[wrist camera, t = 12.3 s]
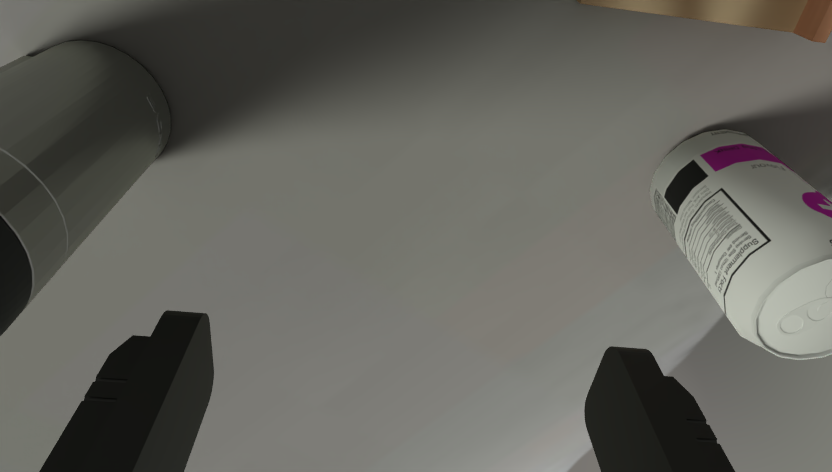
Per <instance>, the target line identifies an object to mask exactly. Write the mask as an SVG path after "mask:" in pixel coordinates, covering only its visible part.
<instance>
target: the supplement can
mask: <svg viewBox="0 0 832 472" xmlns="http://www.w3.org/2000/svg"><path fill="white" fill-rule="evenodd" d="M650 196H651V203H652V207H653V209H654V210H655V212H656V213H657V215H658V216H659V218H660V219H661V221H662V222H663V224H664V225H665V226H666V228H667V229H668V231H669V232H670V234H671V235H672V237H673V238H674V240H675V241H676V243H677V244H678V246H679V247H680V248H681V250H682V251H683V253H684V254H685V256H686V257H687V259H688V260H689V262H690V263H691V265H692V266H693V267H694V269H695V270H696V272H697V273H698V275H699V276H700V278H701V279H702V281H703V282H704V284H705V285H706V287H707V288H708V289H709V291H710V292H711V294H712V295H713V297H714V298H715V300H716V301H717V303H718V304H719V306H720V307H721V309H722V310H723V311H724V313H725V314H726V316H727V317H728V319H729V320H730V321H731V323H732V325H733V326H734V327H735V329H736V330H737V332H738V333H739V335H740V336H741V337H743V338H745V339H747V340H749V341H751V342H753V343H754V344H756V345H758V346H761V347H763V348H764V349H765V350H767V351H769V352H771V353H773V354H774V355H776V356H778V357H783V358H790V359H796V360H803V359H812V358H821V357H825V356H828V355H831V354H832V202H830V201H829V200H828V199H827V198H826V197H824V196H823V195H822V194H821V193H819V192H818V191H817V190H816V189H815V188H813V187H812V186H811V185H810V184H809V183H807V182H806V181H805V180H804V179H802V178H801V177H800V176H799V175H798V174H796V173H795V172H794V171H793V170H791V169H790V168H789V167H788V166H787V165H785V164H784V163H783V162H782V161H781V160H779V159H778V158H777V157H776V156H774V155H773V154H772V153H771V152H770V151H768V150H767V149H766V148H765V147H763V146H762V145H761V144H760V143H759V142H757V141H756V140H754V139H753V138H751V137H750V136H748V135H747V134H745V133H742V132H737V131H732V130H726V129H724V130H717V131H710V132H703V133H701V134H699V135H697V136H695V137H693V138H690V139H688V140H686V141H684V142H682V143H681V144H680V145H679V146H677V147H676V148H675V149H674V150H673V151H671V152H670V153H669V154H668V155H667V156H666V157H665V158H664V160H663V161H662V163H661V164H660V165H659V167H658V168H657V170H656V171H655V173H654V176H653V180H652V184H651V188H650Z"/></svg>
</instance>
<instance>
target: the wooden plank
mask: <svg viewBox="0 0 832 472" xmlns="http://www.w3.org/2000/svg"><path fill="white" fill-rule="evenodd" d="M577 1H578V2H579V3H580V4H587V5H594V6H602V7H609V8H616V9H624V10H631V11H639V12H646V13H653V14H661V15H668V16H675V17H683V18H690V19H697V20H705V21H712V22H719V23H727V24H734V25H742V26H749V27H756V28H764V29H771V30H778V31H786V32H793V33H795V34H797V35H800V36H802V37H804V38H806V39H808V40H811V41H815V42H822V43H825V42H826V40H827V38H828V36H829V34H830V32H831V30H832V0H577Z"/></svg>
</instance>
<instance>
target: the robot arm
mask: <svg viewBox="0 0 832 472" xmlns="http://www.w3.org/2000/svg"><path fill="white" fill-rule="evenodd" d="M170 131H171V117H170V112H169V108H168V104H167V101H166V99H165V97H164V95H163V92H162V90H161V89H160V87H159V86H158V84H157V83H156V81H155V80H154V78H153V77H152V76H151V75H150V74H149V73H148V72H147V71H146V70H145V69H144V68H143V67H142V65H140V64H139V63H138V62H136V61H135V60H134V59H132V58H131V57H130V56H128V55H127V54H125V53H123V52H121V51H119V50H117V49H115V48H113V47H111V46H108V45H104V44H101V43H98V42H92V41H83V40H79V41H69V42H64V43H62V44H59V45H56V46H53V47H52V48H50V49H48V50H46V51H44V52H42V53H40V54H38V55H36V56H34V57H31V56H23V57H21V58H19V59H17V60H15V61H12V62H10V63H8V64H6V65H4V66H2V67H0V336H1V335H2V334H3V333H4V332H5V331H6V330H7V328H8V327H9V326H10V325H11V324H12V323H13V321H14V320H15V319H16V318H17V317H18V316H19V314H20V313H21V312H22V311H23V310H24V309H25V308H26V307H27V305H28V304H29V303H30V302H31V301H32V300H33V299H34V297H35V296H36V295H37V294H38V293H39V292H40V291H41V289H42V288H43V287H44V286H45V285H46V284H47V283H48V281H49V280H50V279H51V278H52V277H53V276H54V274H55V273H56V272H57V271H58V270H59V269H60V267H61V266H62V265H63V264H64V263H65V262H66V261H67V259H68V258H69V257H70V256H71V255H72V254H73V253H74V251H75V250H76V249H77V248H78V247H79V246H80V245H81V243H82V242H83V241H84V240H85V239H86V238H87V237H88V235H89V234H90V233H91V232H92V231H93V230H94V229H95V227H96V226H97V225H98V224H99V223H100V222H101V221H102V219H103V218H104V217H105V216H106V215H107V214H108V213H109V211H110V210H111V209H112V208H113V207H114V206H115V205H116V203H117V202H118V201H119V200H120V199H121V198H122V197H123V195H124V194H125V193H126V192H127V191H128V190H129V189H130V187H131V186H132V185H133V184H134V183H135V182H136V181H137V180H138V178H139V177H140V176H141V175H142V174H143V173H144V172H145V171H146V169H147V168H148V167H149V166H150V165H151V164H152V163H153V161H154V160H155V159H156V158H157V157H158V156H159V155H160V153H161V152H162V151H163V149H164V147H165V145H166V144H167V142H168V138H169V134H170ZM213 378H214V367H213V356H212V345H211V333H210V322H209V317H208V315H207V314H206V313H193V312H181V311H165V312H164V313H163V315H162V316H161V318H160V320H159V322H158V324H157V325H156V327H155V329H154V331H153V333H152V335H151V337H147V336H134V335H133V336H132V337H130V338H129V339H128V340H127V341H126V342H124V343H123V344H122V345H121V346H119V347H118V348H117V349H116V350H114V351H113V352H112V353H111V354H110V355H109V356H108V358H107V360H106V361H105V363H104V365H103V366H102V368H101V370H100V371H99V373H98V375H97V376H96V381H95V382H93V383H92V385H91V386H90V388H89V390H88V391H87V393H86V395H85V399H84V401H81V403H80V405H79V406H78V408H77V410H76V411H75V413H74V415H73V416H72V418H71V420H70V421H69V423H68V425H67V426H66V428H65V430H64V431H63V433H62V435H61V436H60V438H59V440H58V441H57V443H56V445H55V446H54V448H53V450H52V451H51V453H50V455H49V456H48V458H47V460H46V461H45V463H44V465H43V466H42V468H41V470H40V471H39V472H184V470H185V467H186V464H187V461H188V459H189V456H190V453H191V450H192V447H193V445H194V442H195V439H196V436H197V434H198V431H199V428H200V425H201V422H202V420H203V417H204V414H205V411H206V409H207V406H208V403H209V400H210V396H211V392H212V386H213ZM585 422H586V427H587V430H588V433H589V436H590V439H591V442H592V445H593V448H594V451H595V454H596V457H597V460H598V463H599V466H600V469H601V472H735V471H734V469H733V467H732V466H731V464H730V462H729V460H728V458H727V456H726V455H725V453H724V451H723V449H722V447H721V446H720V444H717V438H716V437H715V435H714V433H713V431H712V430H711V428H710V426H709V425H707V424H706V419H705V417H704V415H703V413H702V411H701V410H700V408H699V406H698V404H697V403H696V401H695V399H694V397H693V396H692V395H691V394H690V393H689V392H688V391H687V390H686V389H685V388H684V387H683V386H682V385H681V384H680V383H679V382H678V381H677V380H676V379H674V377H668V376H664V375H663V373H662V372H661V370H660V368H659V366H658V364H657V362H656V360H655V358H654V356H653V355H652V353H651V352H650V351H649V350H647V349H637V348H625V347H609V348H608V349H607V350H606V351H605V353H604V356H603V358H602V360H601V363H600V365H599V368H598V370H597V373H596V375H595V378H594V380H593V382H592V385H591V387H590V390H589V392H588V395H587V398H586V402H585Z"/></svg>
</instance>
